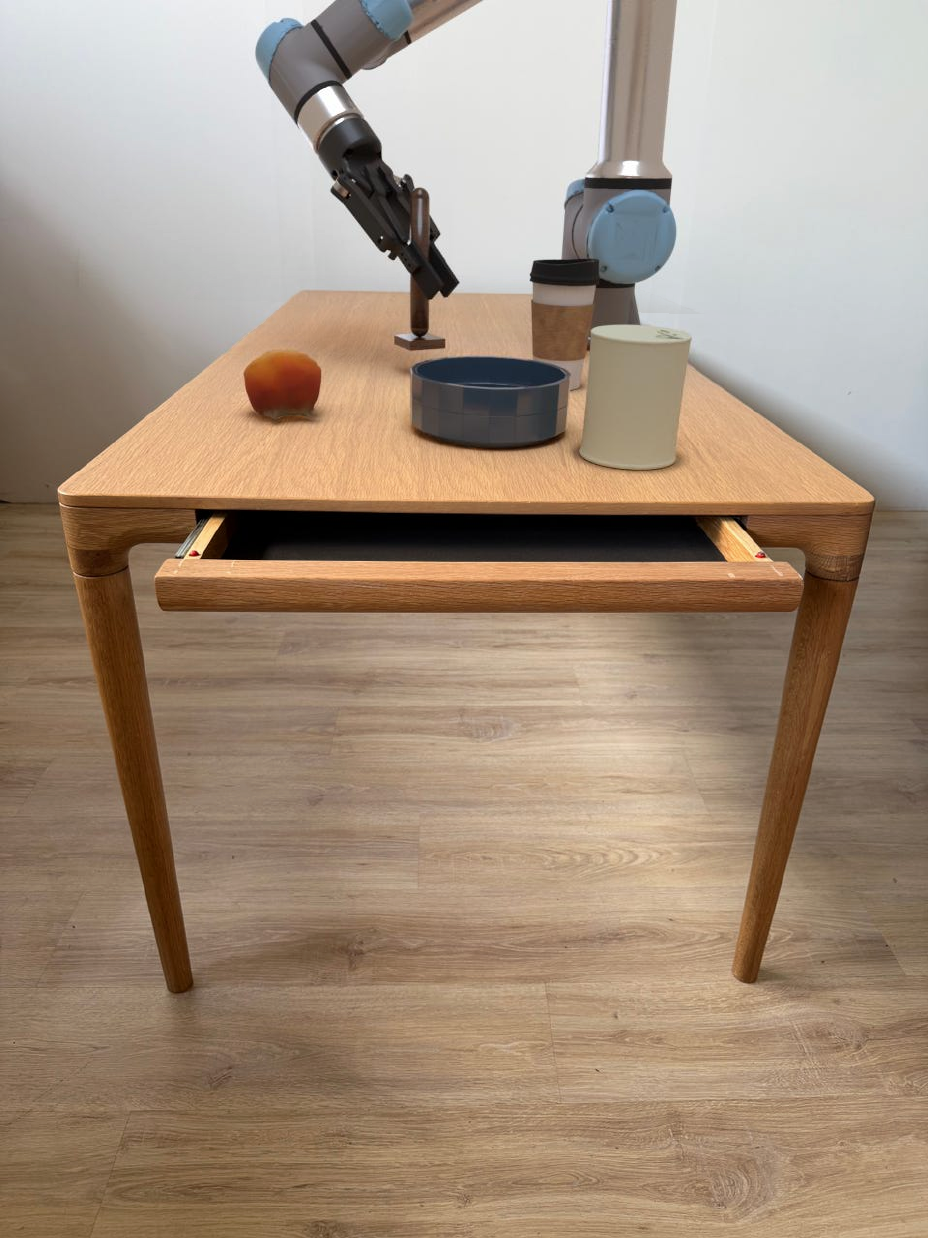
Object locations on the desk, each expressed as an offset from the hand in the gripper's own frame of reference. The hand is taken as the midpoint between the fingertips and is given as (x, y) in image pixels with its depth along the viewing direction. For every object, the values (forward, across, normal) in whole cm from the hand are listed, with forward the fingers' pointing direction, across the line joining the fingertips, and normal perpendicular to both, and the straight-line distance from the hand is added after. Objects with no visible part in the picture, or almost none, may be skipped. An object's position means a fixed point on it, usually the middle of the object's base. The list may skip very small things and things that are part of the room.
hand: (443, 290), depth 113 cm
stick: (+2, 0, -8) cm, 8 cm away
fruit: (+8, +27, -7) cm, 29 cm away
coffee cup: (+17, -7, +1) cm, 18 cm away
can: (+32, +15, +17) cm, 39 cm away
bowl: (+21, +16, +6) cm, 27 cm away
